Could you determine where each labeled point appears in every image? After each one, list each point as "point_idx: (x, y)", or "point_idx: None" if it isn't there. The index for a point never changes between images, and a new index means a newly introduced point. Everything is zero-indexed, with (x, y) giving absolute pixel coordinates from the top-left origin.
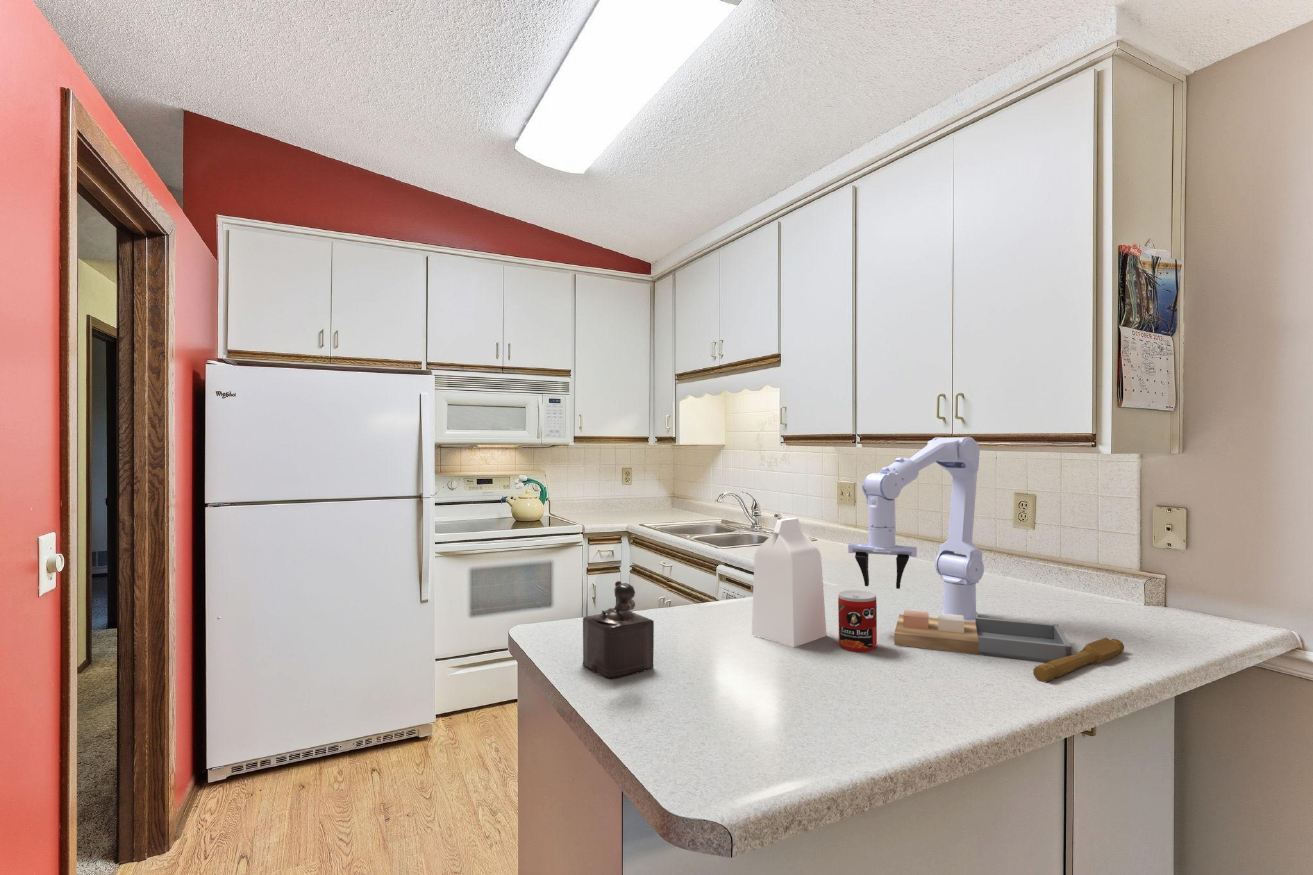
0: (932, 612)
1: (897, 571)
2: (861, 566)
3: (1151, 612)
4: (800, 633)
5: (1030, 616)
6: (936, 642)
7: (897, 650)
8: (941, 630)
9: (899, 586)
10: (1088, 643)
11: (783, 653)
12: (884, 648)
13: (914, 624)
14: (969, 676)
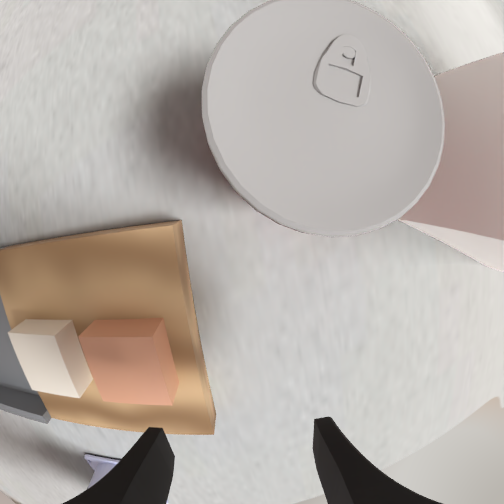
0: (180, 494)
1: (122, 492)
2: (387, 489)
3: (5, 486)
4: (444, 96)
5: (58, 484)
6: (65, 238)
7: (163, 166)
8: (65, 320)
9: (143, 434)
10: None
11: (427, 31)
12: (202, 166)
13: (126, 323)
14: (19, 81)
